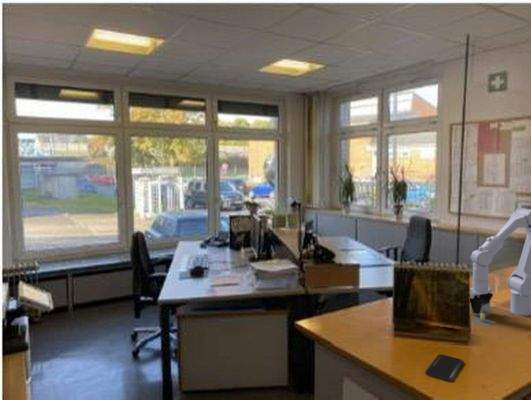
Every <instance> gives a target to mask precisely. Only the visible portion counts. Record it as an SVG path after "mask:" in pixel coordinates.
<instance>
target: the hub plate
mask: <svg viewBox="0 0 531 400" xmlns="http://www.w3.org/2000/svg"><path fill="white" fill-rule="evenodd" d="M470 320H471V321H470V322H472V323H474V324H478V325H481V326H485V327H488V326H490V325H493V324H496V321H494V320H491V319H488V318H486V317H485V314H484V313H481V315H480V317H479V316H476V317H475V318H472V319H470Z"/></svg>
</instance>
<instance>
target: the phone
mask: <svg viewBox="0 0 531 400" xmlns="http://www.w3.org/2000/svg"><path fill="white" fill-rule="evenodd" d="M433 359H434V360H433V361H432V362H431V363H430V364H429V366H428V367H427V368H426V369H425V370H424V373H425V375H426V376H428V377H432V378H435V379H437V380H438V379H439V380H442V381H446V382H450V383H451V382H453V380H454V379H455V378H456V376H457V374H458V373H459V371H460V370H461V369H462V367H463V366H464V363H465V361H464V360H463V359H461V358H456V357H453V356H450V355H446V354H442V353H441V354H438V355H437V356H436V357H435V358H433Z"/></svg>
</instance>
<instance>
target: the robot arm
mask: <svg viewBox="0 0 531 400" xmlns="http://www.w3.org/2000/svg"><path fill="white" fill-rule="evenodd" d="M519 228H521V229H522V228H524V229H525V231H526V232H527V234H526V238H525V241H524V244H523V248H522V250H521V251H522V252H521V255H520V258H519V262H518V265H517V268H516V269H514V270H513V271H512V272H511V275H510V276H509V277H508V278H507V282H506V283H507V287H508V288H509V289H510V290H509V292H510V307H509V309H510V313H512V314H514V315H518V316H523V317H524V316H525V317H526V316H531V209H530V208H526V207H519V208H518V207H517V208H516V209H515V211H514V212H513V213H512V214H510V218H509V219H508V221H507V222H506V223H505V224H504V226H502V228H501V229H500V230H499V231H498V232H497V233H496V235H492V236H491V235H490V237H487V238H486V241H485V242H484V243H483V244H482V245H481V246H479V247H478V249H475V250H474V251H472V253H471V255H470V256H469V259H470V261H471V262H472V286H471V287H469V290H470V291H469V292H470V301H469V304H470V303H471V306H472V310H473V313H476V314H479V311H480V305H481V302H482V300H483V301H487V302H490V303H491V300H492V298H493V296H494V294H493V293H492V292H493V287H492V286H489V271H490V270H489V265H490V264H492V261H493V258H494V256H495V255H496V253H498V252H499V251H500V250H501V249H502V247H503V246H504V241H505V240H506V239H508V237H510V236H511V235H512V234H513V233H514V232H516V230H518V229H519Z"/></svg>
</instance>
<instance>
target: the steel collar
mask: <svg viewBox="0 0 531 400" xmlns="http://www.w3.org/2000/svg"><path fill="white" fill-rule="evenodd" d="M481 313H484V314H485V316H486V317H488V316H490V315H489V314H491V301H490V302H487V301H483V300H482V302H481V305H480V311H479V314H476V313H473V310H472V306H471V314H470V315H473V314H474V315H473V316H476V315H477V316H476V317H479V316H480V315H481ZM487 315H488V316H487Z"/></svg>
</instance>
